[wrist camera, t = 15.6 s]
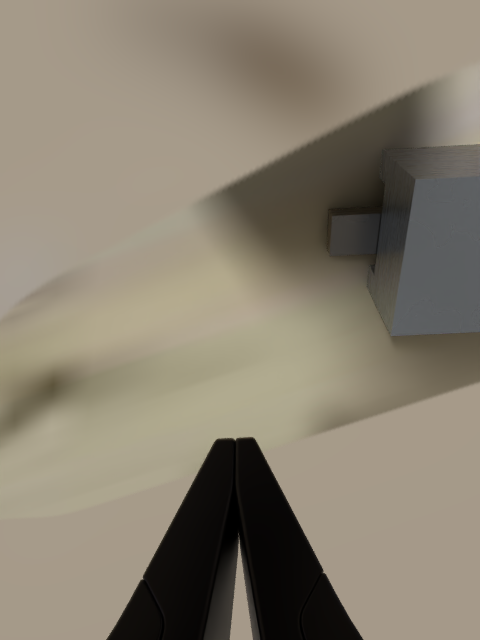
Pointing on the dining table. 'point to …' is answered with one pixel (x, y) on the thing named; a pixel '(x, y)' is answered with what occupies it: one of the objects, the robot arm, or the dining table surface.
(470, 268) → the block
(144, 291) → the dining table surface
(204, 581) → the robot arm
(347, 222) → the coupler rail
